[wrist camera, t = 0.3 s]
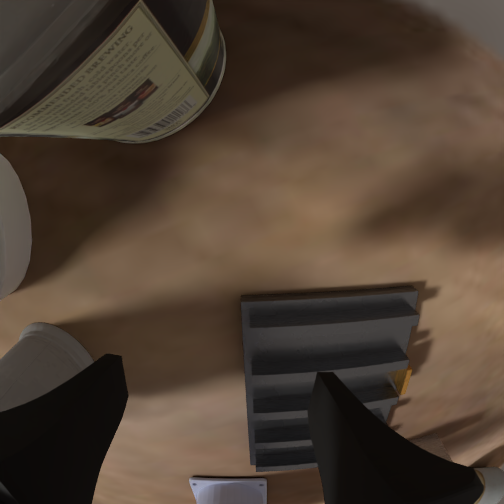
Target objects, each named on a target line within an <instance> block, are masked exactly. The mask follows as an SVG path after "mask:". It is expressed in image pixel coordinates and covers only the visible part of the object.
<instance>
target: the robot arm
mask: <svg viewBox="0 0 504 504" xmlns="http://www.w3.org/2000/svg"><path fill="white" fill-rule="evenodd" d="M127 400H128V391H127V386H126V380H125V375H124V369H123V363H122V356H119V355H113V354H105V355H104V356H102V357H101V358H99V359H98V360H96V361H95V362H94V363H92V364H91V365H89V366H88V367H87V368H85V369H84V370H82V371H81V372H79V373H78V374H76V375H75V376H74V377H72V378H71V379H69V380H68V381H66V382H64V383H63V384H61V385H59V386H58V387H56V388H54V389H53V390H51V391H49V392H48V393H46V394H44V395H42V396H40V397H38V398H36V399H34V400H32V401H29V402H27V403H25V404H22V405H19V406H17V407H14V408H11V409H8V410H5V411H2V412H0V504H92V500H93V495H94V491H95V487H96V483H97V479H98V476H99V472H100V468H101V466H102V463H103V460H104V458H105V456H106V453H107V451H108V449H109V447H110V444H111V442H112V440H113V438H114V435H115V433H116V431H117V429H118V426H119V424H120V422H121V419H122V417H123V414H124V410H125V407H126V403H127ZM307 412H308V422H309V431H310V436H311V441H312V445H313V449H314V453H315V456H316V460H317V464H318V468H319V472H320V476H321V480H322V486H323V492H324V501H325V504H474V503H475V502H476V501H477V500H478V499H479V498H480V497H481V495H482V493H483V491H484V485H483V484H482V482H481V480H480V478H479V477H478V475H477V473H476V471H475V470H474V468H470V467H467V466H464V465H460V464H457V463H454V462H451V461H448V460H446V459H444V458H441V457H439V456H436V455H434V454H432V453H430V452H428V451H426V450H424V449H422V448H420V447H419V446H417V445H415V444H413V443H412V442H410V441H408V440H407V439H405V438H404V437H402V436H401V435H399V434H398V433H397V432H395V431H394V430H392V429H391V428H390V427H388V426H387V425H386V424H385V423H383V422H382V421H381V420H380V419H379V418H378V417H376V416H375V415H374V414H373V413H372V412H371V411H370V410H369V409H368V408H367V407H366V406H365V405H364V404H362V402H361V401H360V400H359V399H358V398H357V397H356V396H355V395H354V394H353V393H352V392H351V391H350V390H349V389H348V388H347V387H346V386H345V384H344V383H343V382H342V381H341V380H340V379H339V378H338V377H337V376H336V374H335V373H334V372H317V375H316V379H315V383H314V387H313V391H312V395H311V399H310V403H309V407H308V410H307ZM189 482H190V485H191V488H192V491H193V493H194V496H195V499H196V501H197V503H196V504H267V480H266V479H264V478H251V479H222V478H197V477H191V478H190V479H189Z"/></svg>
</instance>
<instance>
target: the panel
mask: <svg viewBox="0 0 504 504" xmlns="http://www.w3.org/2000/svg"><path fill="white" fill-rule="evenodd" d="M410 442H412V443H413V444H415V445H417V446H419V447H420V448H422V449H424V450H426V451H428V452H430V453H432V454H434V455H436V456H439V457H441V458H444V459H446V460H448V461H451V462H453V461H452V460H451V458H450V456H449V454H448V452H447V451H446V449H445V447H444V445H443V444H442V442H441V440H440V438H439V437H438V435H437V433H435V434H431V435H428V436H424V437H421V438H417V439H414V440H410Z"/></svg>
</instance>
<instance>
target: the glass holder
mask: <svg viewBox="0 0 504 504" xmlns="http://www.w3.org/2000/svg"><path fill="white" fill-rule="evenodd" d="M92 363H94V361H93V359H92V358H91V356H90V355H89V353H88V352H87V351H86V349H85V348H84V347H83V346H82V345H81V344H80V343H79V342H78V341H77V340H76V339H75V338H73V337H72V336H71V335H70V334H68V333H67V332H65V331H64V330H62V329H60V328H58V327H56V326H54V325H51V324H47V323H39V322H38V323H32V324H30V325H28V326H27V327H26V328H25V329H24V330H23V331H22V333H21V335H20V338H19V341H18V343H17V344H16V345H15V346H13V347H12V348H11V349H10V350H9V351H8V352H7V353H6V354H5V355H4V356H3V357H2V358H1V359H0V412H2V411H5V410H8V409H11V408H14V407H17V406H19V405H22V404H25V403H27V402H29V401H32V400H34V399H36V398H38V397H40V396H42V395H44V394H46V393H48V392H49V391H51V390H53V389H54V388H56V387H58V386H59V385H61V384H63V383H64V382H66V381H68V380H69V379H71V378H72V377H74V376H75V375H76V374H78V373H79V372H81V371H82V370H84V369H85V368H87V367H88V366H89V365H91V364H92Z"/></svg>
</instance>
